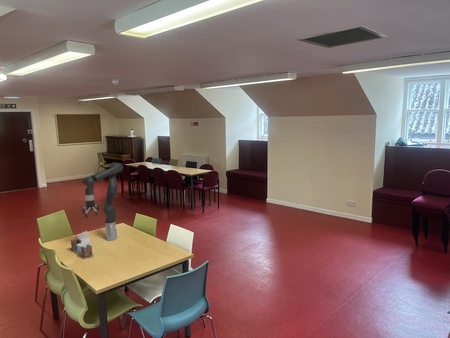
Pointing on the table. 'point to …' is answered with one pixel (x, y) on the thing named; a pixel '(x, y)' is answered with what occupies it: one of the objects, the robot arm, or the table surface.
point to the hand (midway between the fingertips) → (91, 216)
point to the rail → (79, 247)
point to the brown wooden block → (85, 251)
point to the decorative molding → (84, 238)
